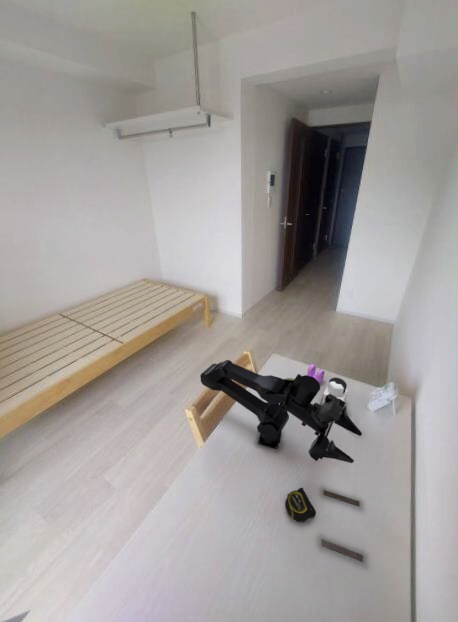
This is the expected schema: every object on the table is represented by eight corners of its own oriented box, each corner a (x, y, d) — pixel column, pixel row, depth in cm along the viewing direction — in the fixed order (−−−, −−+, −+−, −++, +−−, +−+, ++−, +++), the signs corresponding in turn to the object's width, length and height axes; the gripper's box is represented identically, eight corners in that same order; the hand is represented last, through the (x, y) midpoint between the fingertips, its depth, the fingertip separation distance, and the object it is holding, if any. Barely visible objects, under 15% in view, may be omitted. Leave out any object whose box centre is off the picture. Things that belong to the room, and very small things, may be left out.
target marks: (321, 545, 65) (321, 545, 65) (323, 490, 76) (323, 489, 76) (362, 561, 63) (363, 561, 62) (358, 502, 74) (359, 501, 73)
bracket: (311, 375, 118) (314, 362, 115) (322, 382, 115) (325, 369, 111) (292, 388, 112) (294, 375, 108) (303, 396, 108) (305, 383, 104)
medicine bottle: (326, 395, 108) (331, 372, 102) (344, 403, 104) (351, 380, 98) (320, 407, 103) (325, 383, 97) (339, 416, 99) (345, 391, 93)
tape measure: (316, 519, 70) (318, 511, 69) (292, 528, 68) (294, 521, 67) (302, 492, 76) (303, 485, 74) (280, 500, 74) (281, 493, 72)
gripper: (303, 420, 65) (365, 464, 60) (327, 374, 78) (380, 407, 73) (287, 441, 72) (342, 482, 67) (312, 396, 85) (359, 427, 80)
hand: (357, 447), depth 71 cm, fingers open, 9 cm apart
